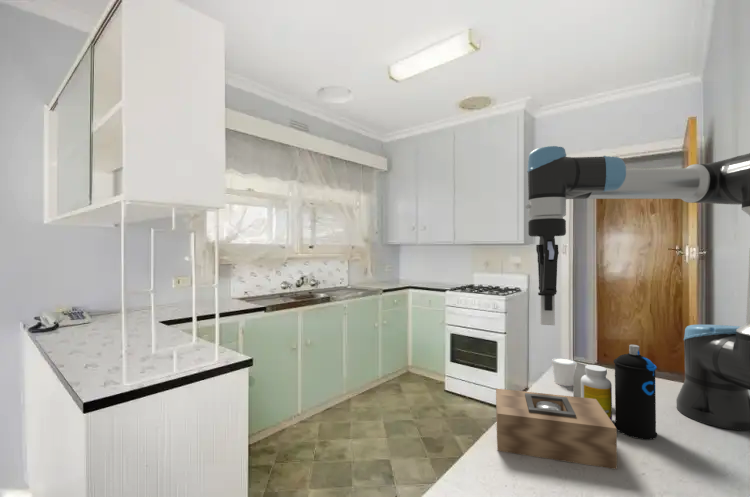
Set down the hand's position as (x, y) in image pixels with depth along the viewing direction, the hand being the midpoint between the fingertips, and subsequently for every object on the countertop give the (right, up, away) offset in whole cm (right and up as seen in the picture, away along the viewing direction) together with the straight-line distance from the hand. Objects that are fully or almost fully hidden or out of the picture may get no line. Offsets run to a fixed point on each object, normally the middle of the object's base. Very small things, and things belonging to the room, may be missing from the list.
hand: (547, 324), depth 79 cm
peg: (0, -26, 0) cm, 26 cm away
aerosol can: (+23, -26, +4) cm, 35 cm away
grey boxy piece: (+22, -26, +21) cm, 40 cm away
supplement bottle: (+17, -26, +10) cm, 33 cm away
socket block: (0, -26, 0) cm, 26 cm away
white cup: (+22, -26, +34) cm, 48 cm away
